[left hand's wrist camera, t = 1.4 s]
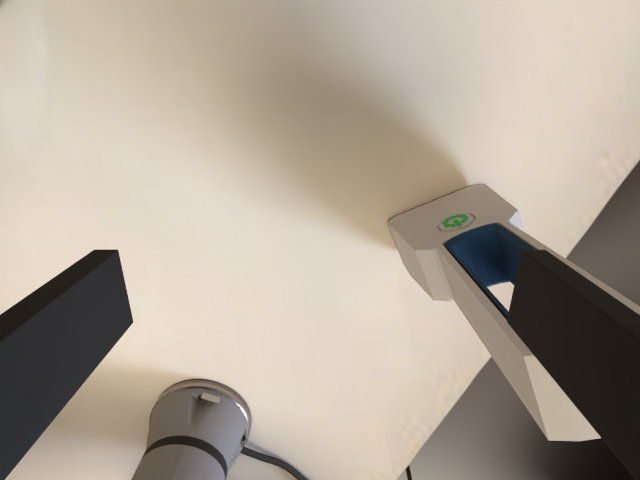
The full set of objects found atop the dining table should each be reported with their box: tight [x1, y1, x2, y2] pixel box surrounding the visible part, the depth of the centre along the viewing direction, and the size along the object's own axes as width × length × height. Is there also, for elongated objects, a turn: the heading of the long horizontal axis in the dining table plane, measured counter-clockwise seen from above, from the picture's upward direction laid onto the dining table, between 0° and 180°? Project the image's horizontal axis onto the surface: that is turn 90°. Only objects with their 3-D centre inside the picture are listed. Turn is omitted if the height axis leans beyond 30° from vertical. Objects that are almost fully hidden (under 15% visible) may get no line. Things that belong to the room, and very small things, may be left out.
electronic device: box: [388, 184, 640, 441], centre depth 35 cm, size 12×8×30 cm, turn 114°
